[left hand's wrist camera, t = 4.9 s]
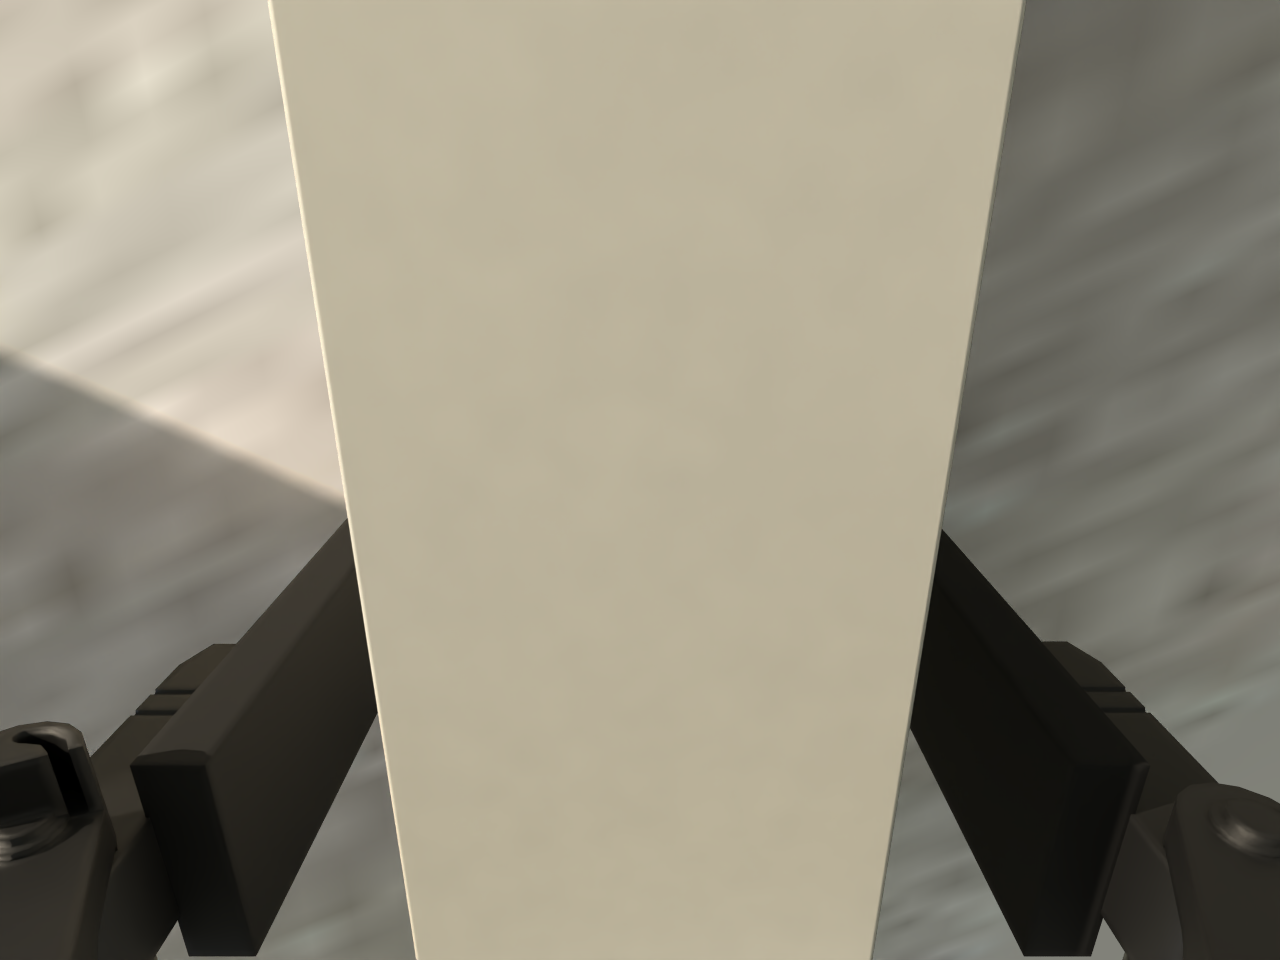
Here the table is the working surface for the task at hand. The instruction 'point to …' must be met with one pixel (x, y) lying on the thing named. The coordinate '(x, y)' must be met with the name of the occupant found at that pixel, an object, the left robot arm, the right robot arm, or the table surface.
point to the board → (645, 440)
